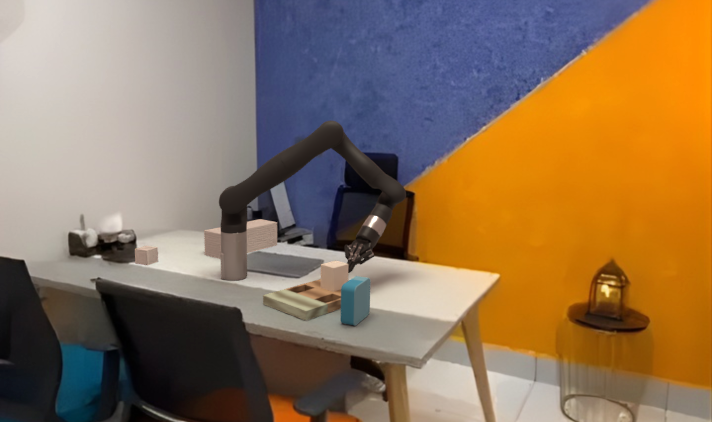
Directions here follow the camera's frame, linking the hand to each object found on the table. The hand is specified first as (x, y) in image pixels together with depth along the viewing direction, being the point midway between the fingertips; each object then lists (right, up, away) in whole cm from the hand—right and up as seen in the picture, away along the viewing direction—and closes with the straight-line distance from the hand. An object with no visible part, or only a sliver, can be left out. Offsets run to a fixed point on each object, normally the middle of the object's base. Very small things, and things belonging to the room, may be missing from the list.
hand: (346, 271), depth 199 cm
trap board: (-10, -9, -10) cm, 17 cm away
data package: (+3, -12, -23) cm, 27 cm away
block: (-4, -5, -3) cm, 7 cm away
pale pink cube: (-79, 0, +32) cm, 85 cm away
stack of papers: (-46, +3, +55) cm, 71 cm away
